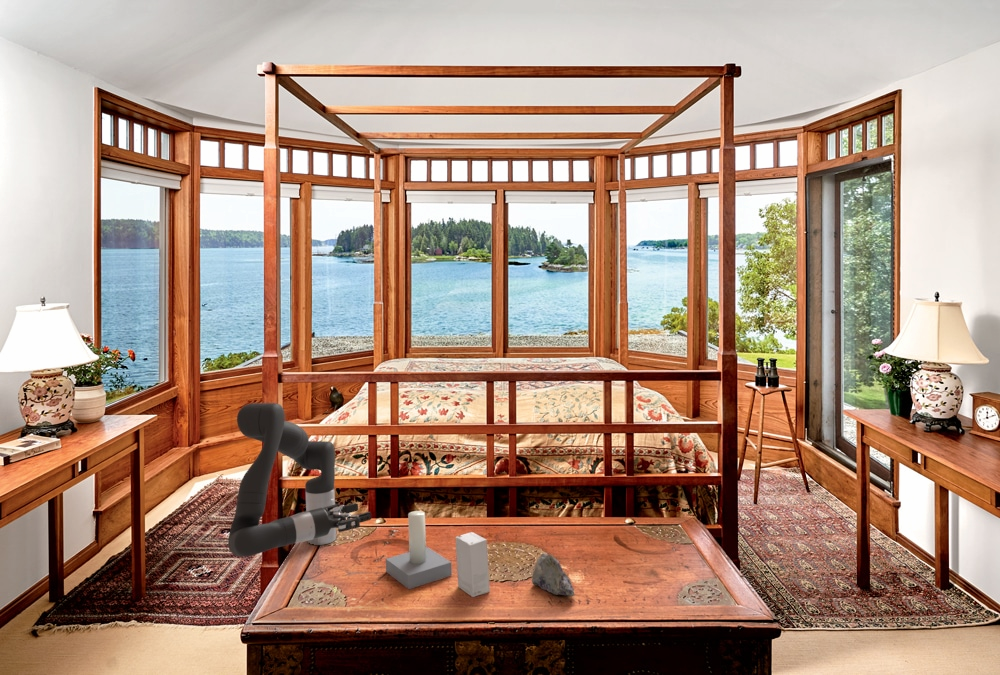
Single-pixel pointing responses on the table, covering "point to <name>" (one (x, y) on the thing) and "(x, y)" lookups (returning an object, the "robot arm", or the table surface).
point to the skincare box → (472, 564)
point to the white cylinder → (417, 537)
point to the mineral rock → (551, 576)
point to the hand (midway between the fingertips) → (364, 510)
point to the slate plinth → (418, 569)
